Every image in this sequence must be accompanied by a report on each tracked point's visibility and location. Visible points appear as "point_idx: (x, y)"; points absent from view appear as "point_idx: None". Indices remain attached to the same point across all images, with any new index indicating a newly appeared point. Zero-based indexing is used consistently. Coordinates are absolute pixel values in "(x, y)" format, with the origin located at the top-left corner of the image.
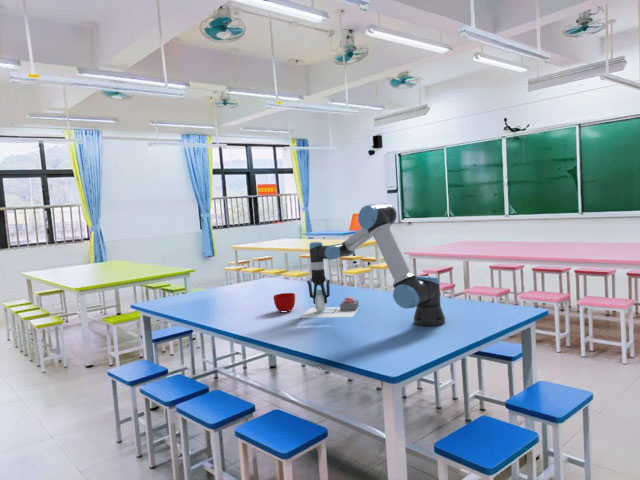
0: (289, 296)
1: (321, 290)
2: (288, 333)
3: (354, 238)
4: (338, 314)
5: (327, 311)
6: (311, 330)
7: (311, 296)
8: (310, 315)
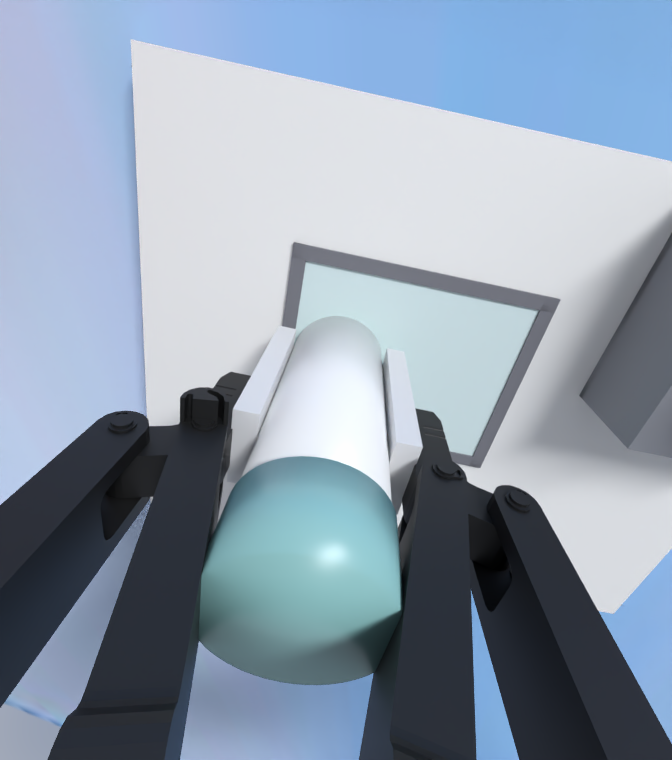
0: None
1: (360, 677)
2: (188, 706)
3: None
4: None
5: (417, 384)
6: (303, 700)
7: (142, 498)
8: None
